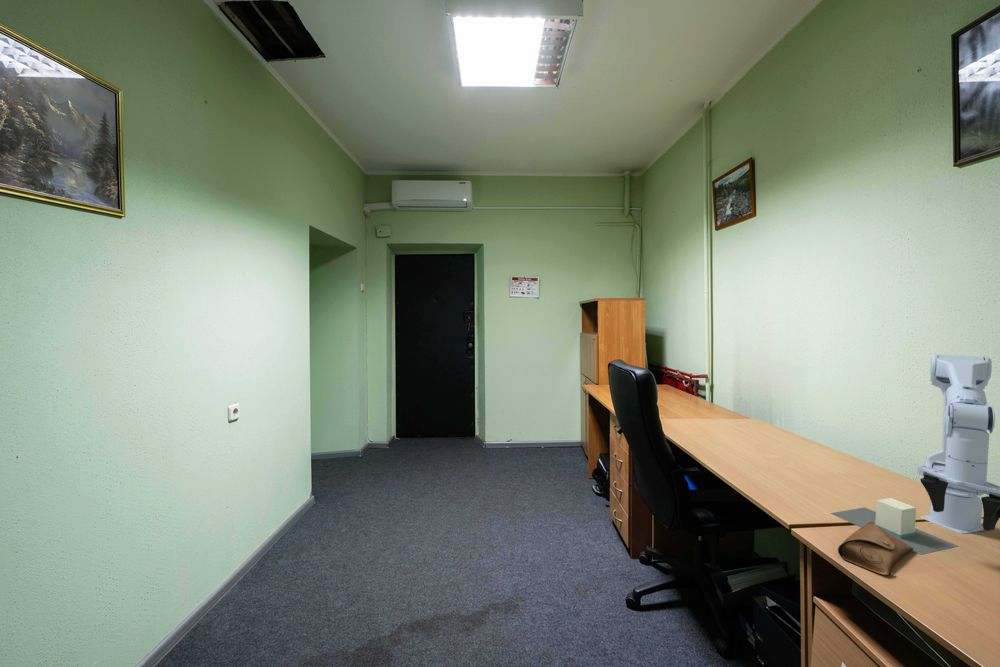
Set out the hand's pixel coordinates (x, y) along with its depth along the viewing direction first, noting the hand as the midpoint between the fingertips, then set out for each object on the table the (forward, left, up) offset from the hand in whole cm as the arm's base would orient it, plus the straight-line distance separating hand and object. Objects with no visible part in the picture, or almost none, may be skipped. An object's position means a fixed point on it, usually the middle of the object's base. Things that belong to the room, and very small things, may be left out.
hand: (962, 519), depth 83 cm
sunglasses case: (+15, -6, -9) cm, 19 cm away
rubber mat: (-1, -13, -9) cm, 16 cm away
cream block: (0, -11, -9) cm, 15 cm away
